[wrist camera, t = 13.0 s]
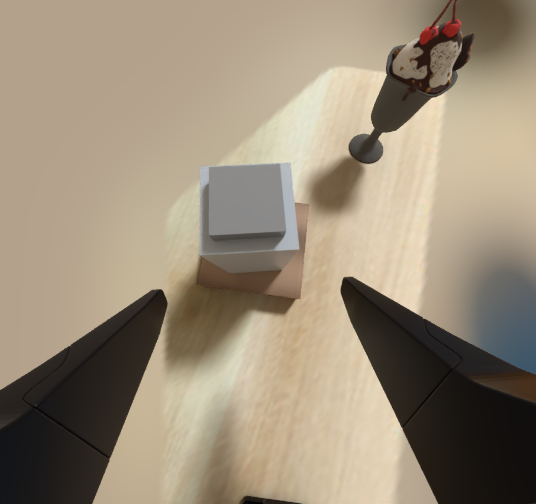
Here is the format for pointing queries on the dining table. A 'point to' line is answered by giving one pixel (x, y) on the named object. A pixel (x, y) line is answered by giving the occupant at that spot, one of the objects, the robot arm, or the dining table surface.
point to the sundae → (414, 81)
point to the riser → (265, 281)
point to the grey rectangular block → (248, 217)
